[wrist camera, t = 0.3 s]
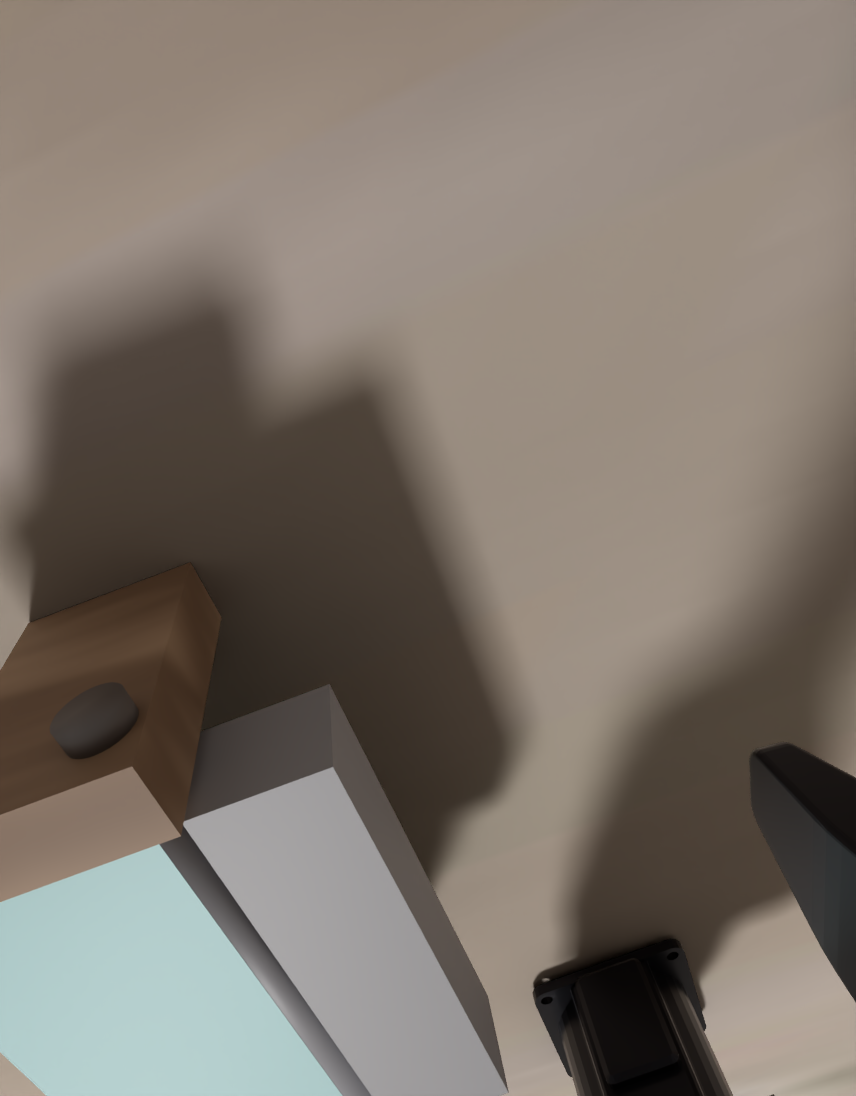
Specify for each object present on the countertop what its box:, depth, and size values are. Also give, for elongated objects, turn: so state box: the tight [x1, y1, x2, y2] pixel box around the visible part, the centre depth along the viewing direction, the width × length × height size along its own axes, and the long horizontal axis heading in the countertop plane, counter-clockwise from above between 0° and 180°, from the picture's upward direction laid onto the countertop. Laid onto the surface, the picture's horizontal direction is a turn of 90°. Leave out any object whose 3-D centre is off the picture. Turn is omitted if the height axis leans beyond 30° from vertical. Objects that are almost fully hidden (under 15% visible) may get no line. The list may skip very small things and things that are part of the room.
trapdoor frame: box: [0, 562, 222, 902], centre depth 23 cm, size 20×5×8 cm, turn 19°
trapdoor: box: [0, 684, 509, 1096], centre depth 22 cm, size 14×11×3 cm
